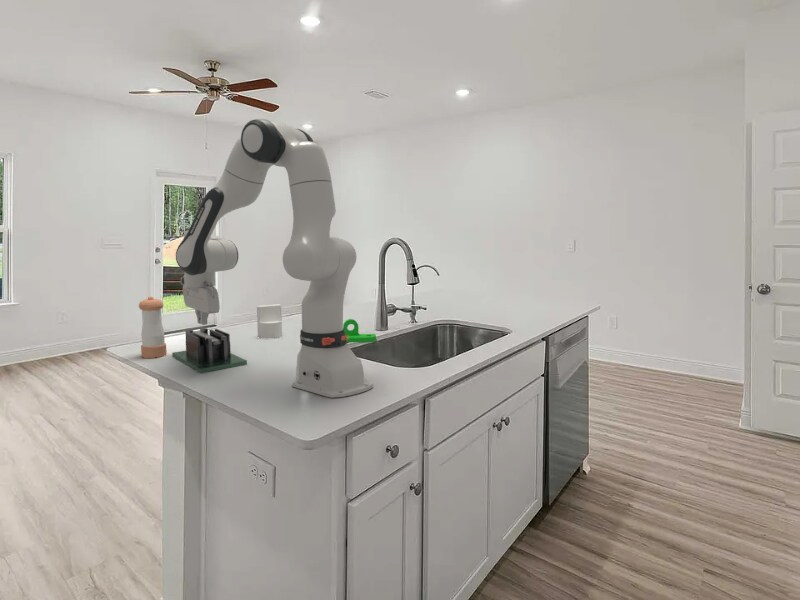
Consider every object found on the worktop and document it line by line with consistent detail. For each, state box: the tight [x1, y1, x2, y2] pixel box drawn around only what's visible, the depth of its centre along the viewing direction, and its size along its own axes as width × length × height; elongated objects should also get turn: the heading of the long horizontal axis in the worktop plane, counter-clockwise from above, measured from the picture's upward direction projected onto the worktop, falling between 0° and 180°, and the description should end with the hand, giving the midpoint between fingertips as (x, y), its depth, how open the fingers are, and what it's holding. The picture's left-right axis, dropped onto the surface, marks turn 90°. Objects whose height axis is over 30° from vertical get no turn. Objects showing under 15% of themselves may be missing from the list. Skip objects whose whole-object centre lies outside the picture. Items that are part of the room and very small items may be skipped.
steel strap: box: [193, 330, 223, 346], centre depth 153 cm, size 18×3×1 cm, turn 43°
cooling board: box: [171, 326, 248, 374], centre depth 153 cm, size 24×14×9 cm, turn 43°
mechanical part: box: [343, 318, 377, 343], centre depth 182 cm, size 12×6×8 cm, turn 102°
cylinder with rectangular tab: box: [256, 303, 283, 339], centre depth 187 cm, size 9×9×12 cm
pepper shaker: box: [138, 296, 168, 359], centre depth 157 cm, size 7×7×19 cm
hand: (202, 323), depth 154 cm, fingers closed
